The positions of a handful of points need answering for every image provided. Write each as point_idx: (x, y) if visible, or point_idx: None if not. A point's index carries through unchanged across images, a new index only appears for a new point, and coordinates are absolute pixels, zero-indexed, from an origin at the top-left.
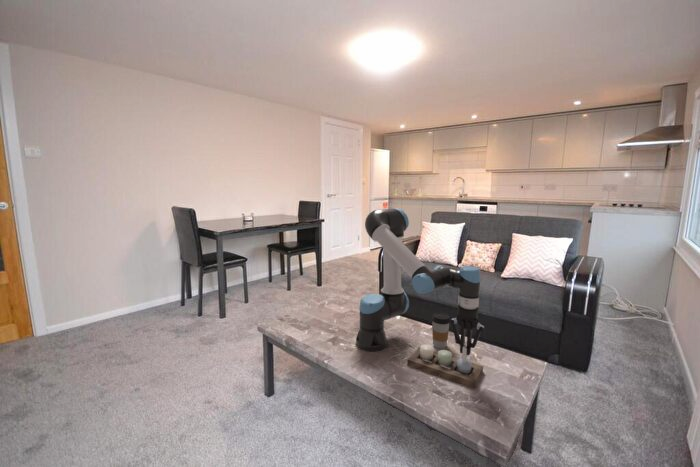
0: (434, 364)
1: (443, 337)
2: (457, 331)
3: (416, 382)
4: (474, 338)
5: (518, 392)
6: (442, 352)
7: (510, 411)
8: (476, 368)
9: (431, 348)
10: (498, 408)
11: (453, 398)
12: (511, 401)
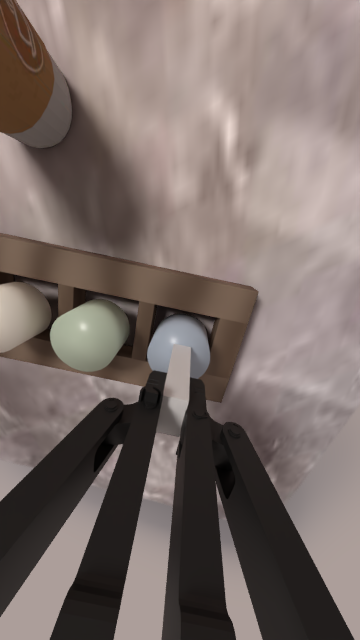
0: None
1: (11, 106)
2: (48, 526)
3: (61, 412)
4: (242, 561)
5: (354, 364)
6: (69, 339)
7: (302, 443)
8: (229, 319)
9: (9, 321)
10: (274, 442)
11: (164, 439)
12: (317, 409)
